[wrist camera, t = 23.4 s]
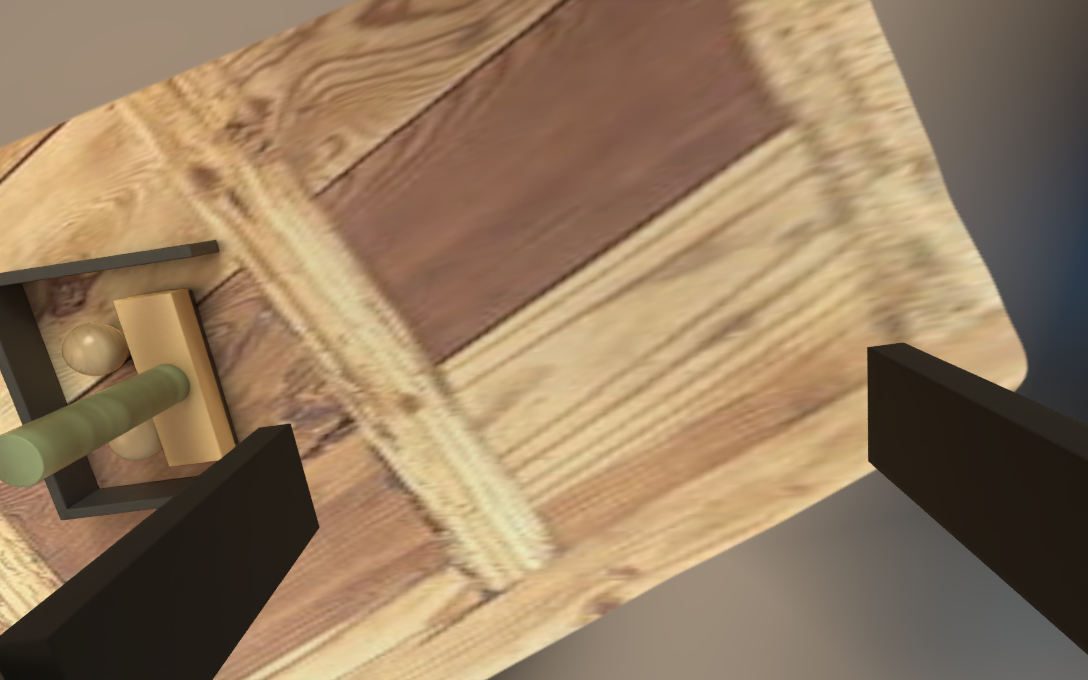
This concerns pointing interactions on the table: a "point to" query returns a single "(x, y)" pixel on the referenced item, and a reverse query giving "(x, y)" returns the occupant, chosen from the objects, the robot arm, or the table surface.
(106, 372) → the cork ball
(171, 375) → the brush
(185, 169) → the table surface
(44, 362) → the fence
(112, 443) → the cork ball
